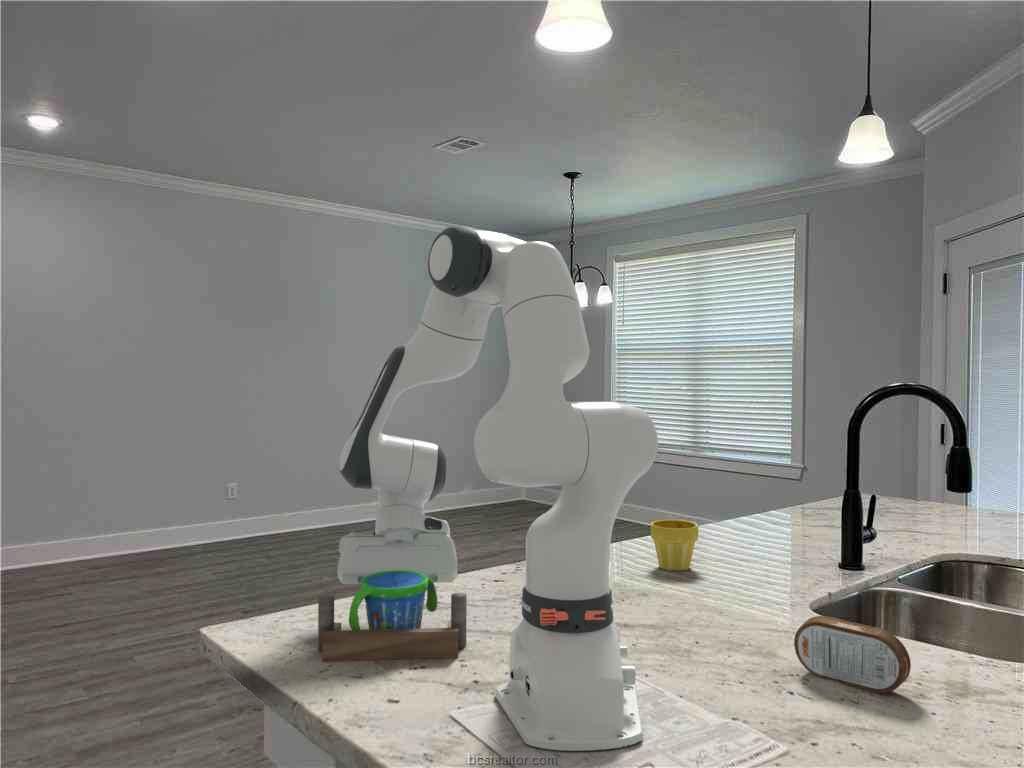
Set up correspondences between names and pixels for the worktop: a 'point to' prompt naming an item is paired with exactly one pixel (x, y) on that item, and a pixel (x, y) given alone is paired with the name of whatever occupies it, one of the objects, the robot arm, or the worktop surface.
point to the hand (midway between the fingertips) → (396, 604)
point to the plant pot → (674, 543)
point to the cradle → (390, 637)
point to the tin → (852, 654)
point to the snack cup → (393, 600)
